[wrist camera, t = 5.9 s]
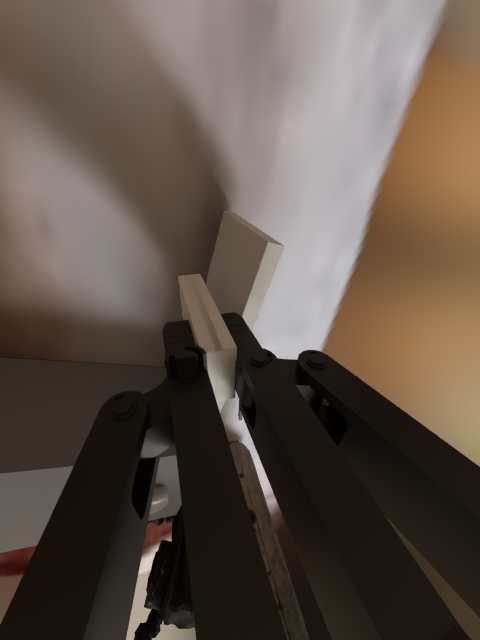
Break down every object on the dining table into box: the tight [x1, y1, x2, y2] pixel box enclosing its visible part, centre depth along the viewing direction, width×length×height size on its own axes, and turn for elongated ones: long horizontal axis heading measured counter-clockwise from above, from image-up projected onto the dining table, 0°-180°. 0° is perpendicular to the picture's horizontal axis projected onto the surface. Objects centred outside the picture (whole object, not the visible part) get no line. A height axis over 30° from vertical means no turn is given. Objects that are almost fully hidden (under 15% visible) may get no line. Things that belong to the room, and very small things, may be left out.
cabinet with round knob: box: [0, 357, 182, 553], centre depth 17 cm, size 16×9×9 cm, turn 67°
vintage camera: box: [134, 442, 309, 640], centre depth 24 cm, size 10×15×20 cm, turn 70°
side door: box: [206, 211, 284, 412], centre depth 16 cm, size 14×2×7 cm, turn 162°
